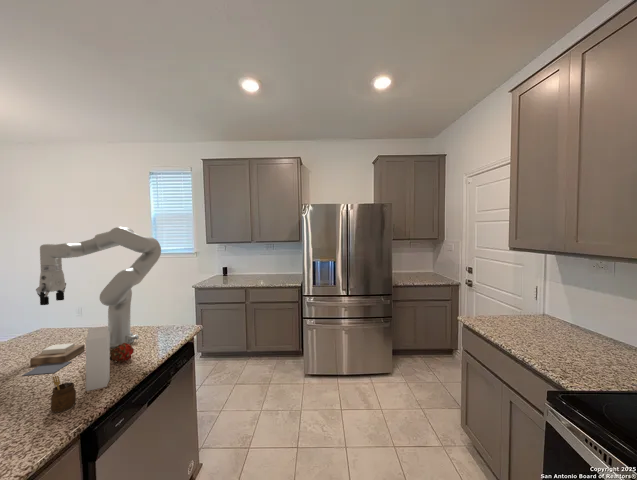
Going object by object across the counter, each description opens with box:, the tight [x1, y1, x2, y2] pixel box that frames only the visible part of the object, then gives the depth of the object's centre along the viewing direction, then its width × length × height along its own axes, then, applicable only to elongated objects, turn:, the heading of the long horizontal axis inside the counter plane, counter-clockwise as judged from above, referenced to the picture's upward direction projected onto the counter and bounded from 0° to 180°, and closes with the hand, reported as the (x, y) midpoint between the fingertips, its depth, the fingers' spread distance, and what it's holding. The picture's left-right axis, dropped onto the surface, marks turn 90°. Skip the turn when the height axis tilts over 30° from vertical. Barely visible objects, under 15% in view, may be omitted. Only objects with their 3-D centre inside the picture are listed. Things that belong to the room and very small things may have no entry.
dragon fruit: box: [110, 343, 134, 364], centre depth 120 cm, size 8×8×12 cm
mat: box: [21, 361, 72, 377], centre depth 112 cm, size 11×10×1 cm
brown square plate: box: [29, 344, 86, 366], centre depth 123 cm, size 13×13×3 cm
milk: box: [85, 325, 111, 392], centre depth 100 cm, size 6×6×22 cm
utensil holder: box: [50, 370, 77, 414], centre depth 86 cm, size 6×6×12 cm
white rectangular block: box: [41, 343, 75, 354], centre depth 123 cm, size 9×6×2 cm, turn 102°
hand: (52, 302), depth 132 cm, fingers open, 9 cm apart
